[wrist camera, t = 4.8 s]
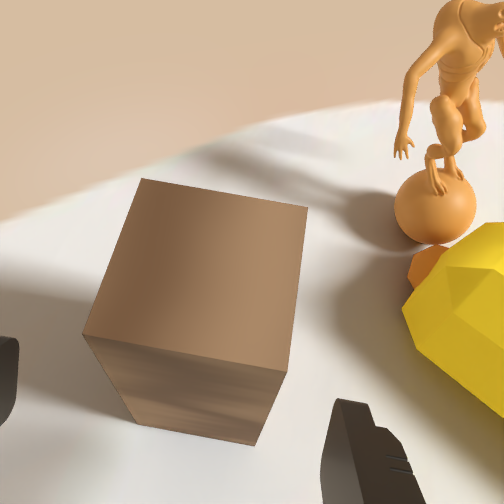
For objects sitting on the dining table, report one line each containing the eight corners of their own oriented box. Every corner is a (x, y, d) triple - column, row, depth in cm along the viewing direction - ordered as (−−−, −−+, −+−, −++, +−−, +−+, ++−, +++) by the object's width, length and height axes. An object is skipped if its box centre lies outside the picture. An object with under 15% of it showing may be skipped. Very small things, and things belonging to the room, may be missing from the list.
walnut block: (271, 335, 22) (308, 207, 14) (254, 446, 20) (287, 371, 11) (167, 316, 22) (141, 178, 14) (137, 424, 20) (81, 333, 11)
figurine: (398, 294, 24) (535, 110, 14) (316, 216, 26) (383, 8, 16) (492, 215, 27) (660, 18, 17) (412, 152, 29) (519, -56, 19)
